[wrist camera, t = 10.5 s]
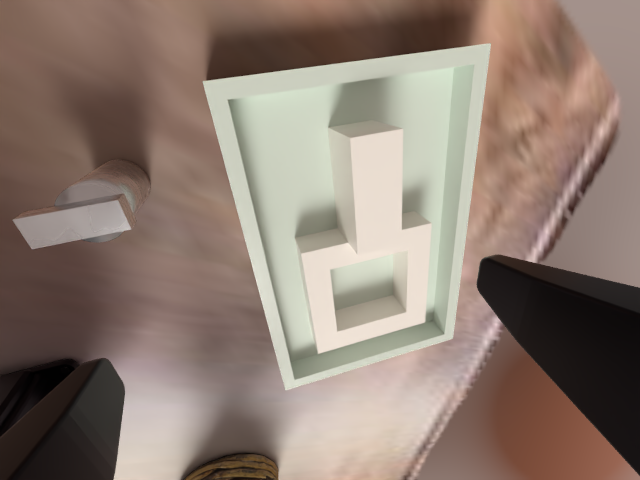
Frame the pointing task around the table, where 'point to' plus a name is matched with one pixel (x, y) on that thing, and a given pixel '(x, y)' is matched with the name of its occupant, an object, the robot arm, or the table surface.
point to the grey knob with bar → (89, 207)
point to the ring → (366, 239)
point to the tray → (318, 191)
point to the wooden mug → (237, 469)
